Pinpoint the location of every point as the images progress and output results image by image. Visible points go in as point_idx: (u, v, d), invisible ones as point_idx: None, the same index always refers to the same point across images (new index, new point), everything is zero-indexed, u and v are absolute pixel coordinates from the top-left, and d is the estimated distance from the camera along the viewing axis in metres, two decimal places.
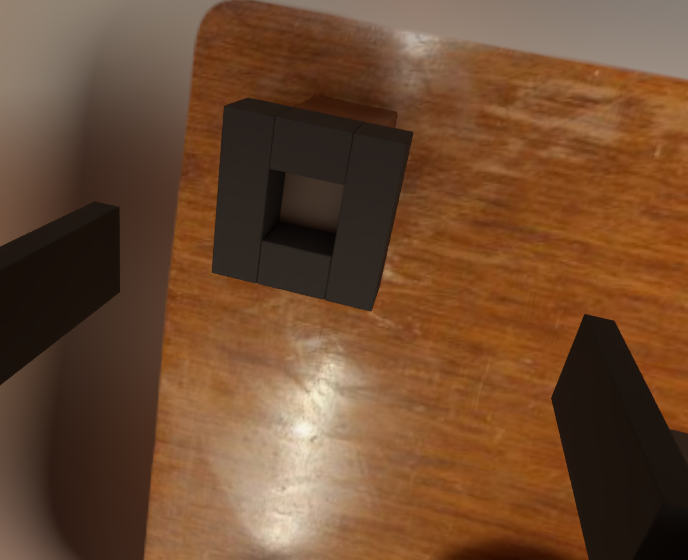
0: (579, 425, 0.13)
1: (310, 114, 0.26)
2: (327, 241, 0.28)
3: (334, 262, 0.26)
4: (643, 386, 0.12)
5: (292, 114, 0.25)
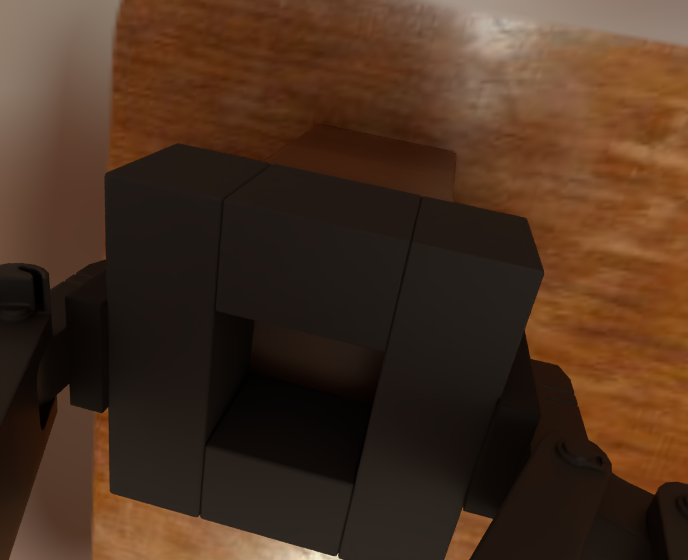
0: None
1: (307, 183, 0.12)
2: (342, 429, 0.14)
3: (359, 495, 0.12)
4: None
5: (266, 188, 0.11)
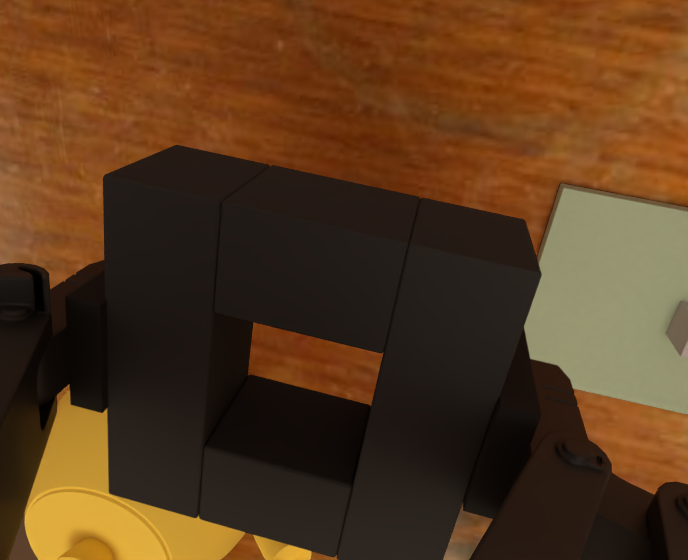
0: None
1: (305, 185, 0.12)
2: (341, 430, 0.14)
3: (357, 497, 0.12)
4: None
5: (264, 190, 0.11)
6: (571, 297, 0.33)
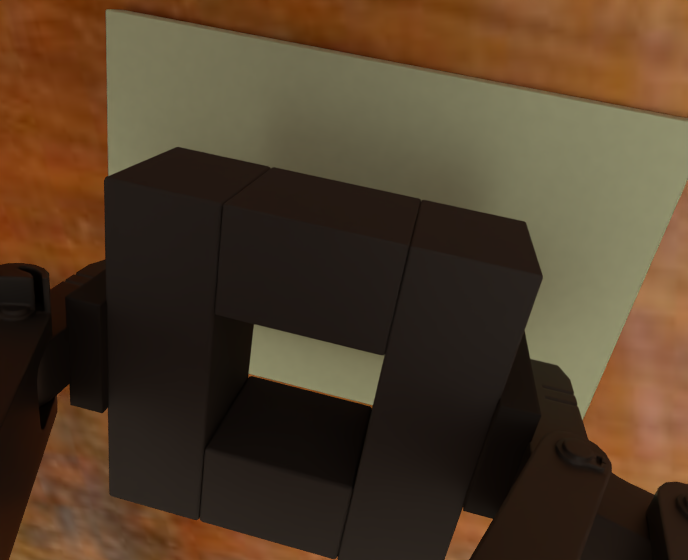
0: None
1: (306, 187, 0.12)
2: (341, 432, 0.14)
3: (358, 498, 0.12)
4: None
5: (265, 192, 0.11)
6: None
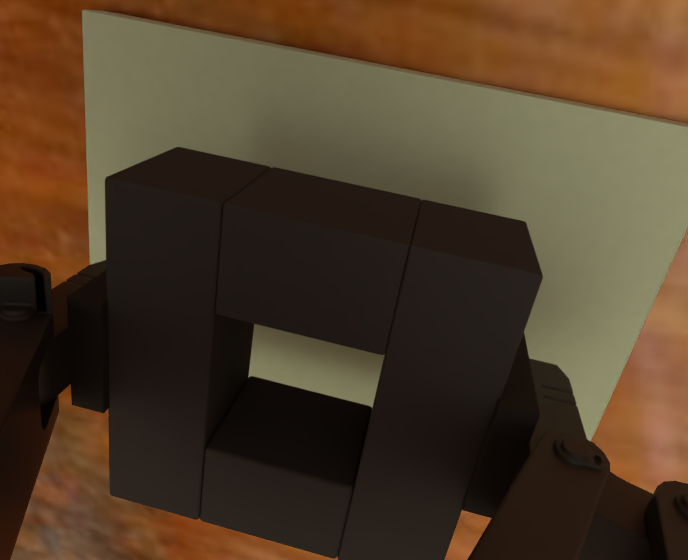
0: None
1: (306, 187, 0.12)
2: (342, 431, 0.14)
3: (358, 498, 0.12)
4: None
5: (265, 192, 0.11)
6: None
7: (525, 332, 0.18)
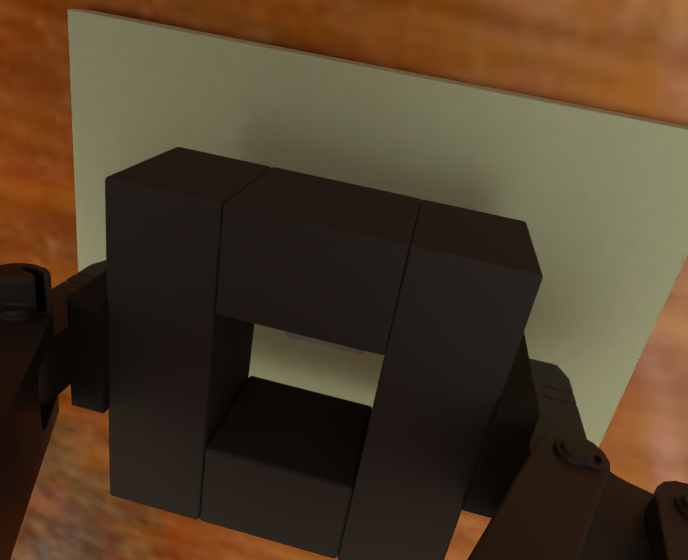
0: None
1: (306, 187, 0.12)
2: (342, 431, 0.14)
3: (358, 498, 0.12)
4: None
5: (266, 192, 0.11)
6: None
7: (527, 343, 0.17)
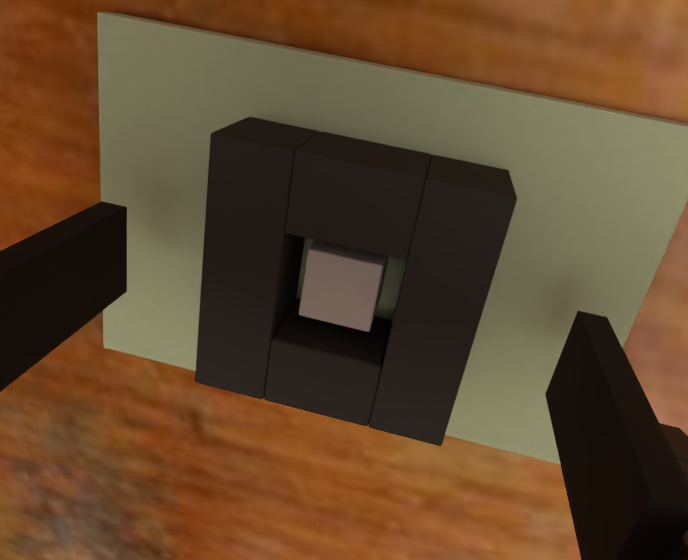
0: (572, 420, 0.13)
1: (348, 144, 0.16)
2: (370, 334, 0.18)
3: (385, 374, 0.17)
4: (634, 381, 0.12)
5: (321, 145, 0.16)
6: (163, 218, 0.20)
7: (523, 323, 0.19)
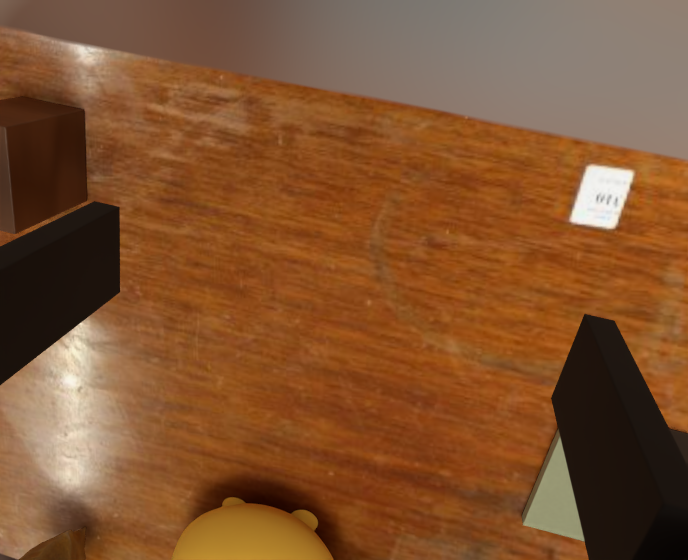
0: (579, 425, 0.13)
1: None
2: None
3: None
4: (643, 386, 0.12)
5: None
6: None
7: None
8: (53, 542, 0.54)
